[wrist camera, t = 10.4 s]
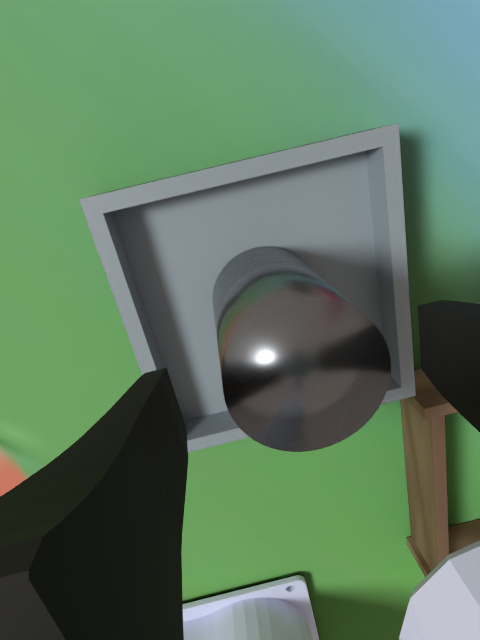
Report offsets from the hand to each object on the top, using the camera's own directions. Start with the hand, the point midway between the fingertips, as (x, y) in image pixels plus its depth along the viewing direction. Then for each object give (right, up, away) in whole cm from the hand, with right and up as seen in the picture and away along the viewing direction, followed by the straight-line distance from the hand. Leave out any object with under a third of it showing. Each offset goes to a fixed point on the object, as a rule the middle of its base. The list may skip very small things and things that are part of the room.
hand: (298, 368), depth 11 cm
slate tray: (-1, +3, +7) cm, 7 cm away
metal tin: (-1, +2, +6) cm, 6 cm away
